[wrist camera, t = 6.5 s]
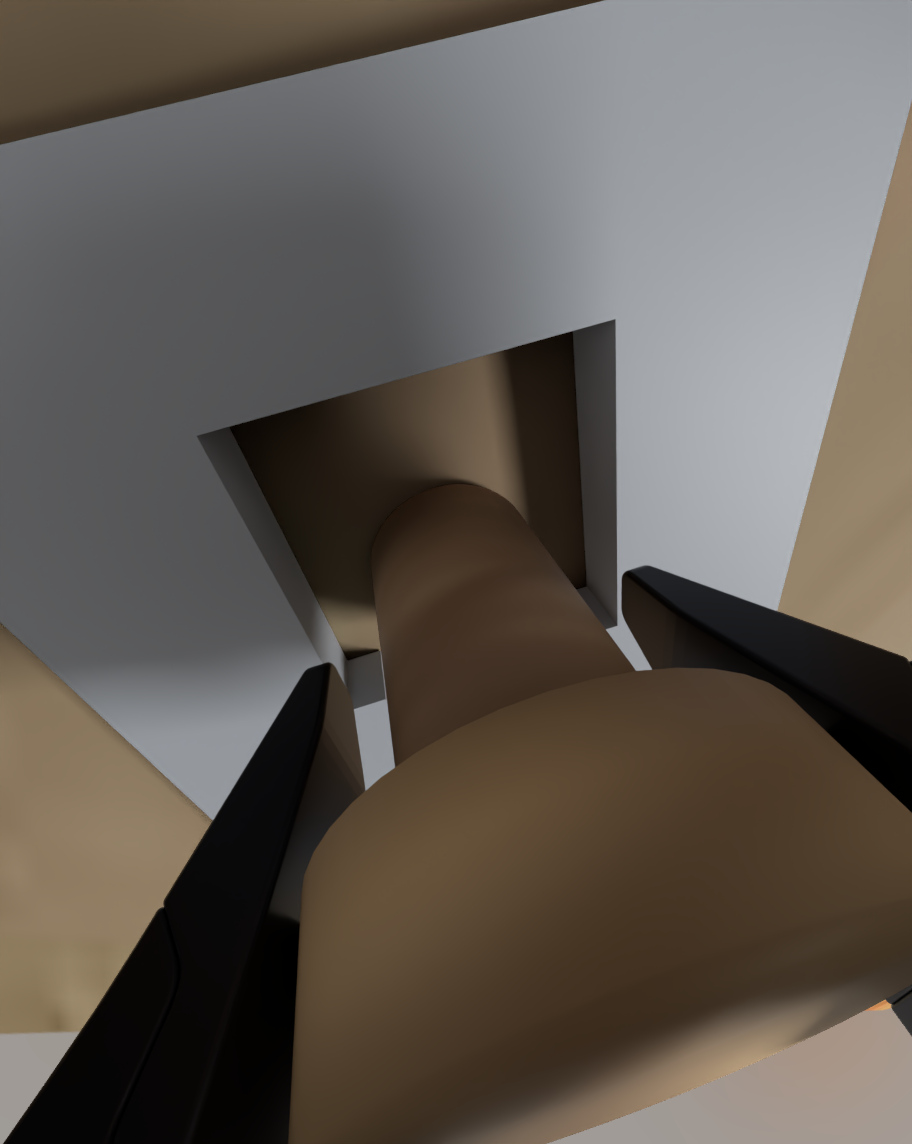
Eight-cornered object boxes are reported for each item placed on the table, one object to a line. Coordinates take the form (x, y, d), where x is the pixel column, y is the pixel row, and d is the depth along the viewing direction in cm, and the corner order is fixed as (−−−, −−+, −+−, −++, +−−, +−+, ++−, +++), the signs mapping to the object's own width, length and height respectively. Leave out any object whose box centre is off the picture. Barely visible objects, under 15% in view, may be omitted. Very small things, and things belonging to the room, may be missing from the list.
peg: (563, 396, 8) (1212, 772, 2) (578, 616, 12) (861, 1024, 5) (271, 479, 8) (67, 1187, 2) (368, 681, 11) (410, 1199, 5)
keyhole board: (-241, 247, 5) (-421, 242, 4) (837, -17, 6) (971, -92, 5) (344, 895, 17) (345, 947, 16) (696, 775, 18) (725, 816, 17)
